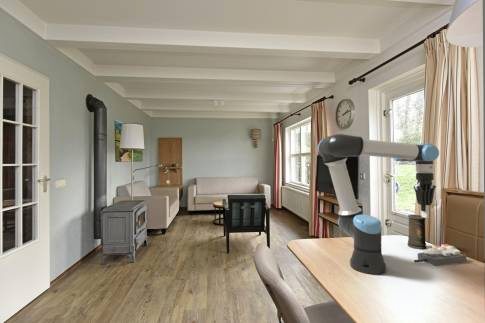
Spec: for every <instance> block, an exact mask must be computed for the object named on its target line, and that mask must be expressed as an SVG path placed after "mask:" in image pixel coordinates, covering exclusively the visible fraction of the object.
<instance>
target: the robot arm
mask: <svg viewBox="0 0 485 323" xmlns="http://www.w3.org/2000/svg"><path fill="white" fill-rule="evenodd" d="M317 152H318V154H319V156H320V157H322V160H323V164H324V165H326V166H327V167H328V170H329V174H330V177H331V181H332V185H333V188H334V191H335V195H336V196H335V197H336V199H337V202H338V206H339V210H338V212H337V214H338V219H337V223H338V227H339V228H340V230H341V231H342V232H343V233H344V234H345V235H347V236H349V237H350V238H352V239H353V251H352V252H351V257H350V259H349V266H350V268H352V269H353V270H355V271H357V272H361V273H364V274H369V275H383V274H385V273H386V272H387V266H386V263H385V260H384V256H383V253H382V230H383V228H382V222H381V221H380V219H379V218H377V217H376V216H372V215H368V214H364V213H363V211H362V208H361V207H359V206H358V205H357V204H358V203H357V201H356V200H357V199H356V197H355V194H354V193H355V192H354V190H353V186H352V182H351V179H350V178H351V177H350V175H349V171H348V169H347V164H346V161H347V160H348V157H353V158H354V157H356V158H359V157H360V156H368V157H376V158H386V159H387V158H388V159H393V160H394V161H395V162H415V172H416V173H415V180H416V181H417V183H416V185H413V189H414V192H415V196H416V202H417V204H418V205H420V212H421V216H422V217H424V218H426V219H429V218H430V217H429V215H430V214H429V211H430V206H432V204H433V202H434V195H435V189H436V188H437V186H436V185H434V184H433V182H432V181H433V180H434V179H435V178H434V176H435V174H434V173H433V172H434V161H436V160H437V158H439V155H440V150H439V148H438V147H437V146H436V145H434V144H433V143H431V142H422V143H421V142H420V143H419V142H418V143H416V144H415V143H405V142H394V141H386V140H385V141H383V140H378V139H377V140H376V139H366V138H365V139H364V138H363V137H362V136H358V135H352V134H343V133H335V134H333V135H328V136H326V137H324V138H322V139H321V140H320V141H319V143H318V145H317Z"/></svg>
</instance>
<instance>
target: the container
mask: <svg viewBox="0 0 485 323" xmlns="http://www.w3.org/2000/svg"><path fill="white" fill-rule="evenodd" d="M407 218H408V241H407V246H408V247H409V248H411V249H417V250H424V249H428V248H427V243H426V224H425V223H426V222H425V221H426V219H427V218H424V217H422V216H421V215H420V214H408V215H407Z"/></svg>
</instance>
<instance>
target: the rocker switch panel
mask: <svg viewBox="0 0 485 323" xmlns="http://www.w3.org/2000/svg"><path fill="white" fill-rule="evenodd" d="M413 262H414V263H423V262H424V263H425V264H429V265H432V266H435V267H438V266H444V265H446V266H447V265H452V264H459V263H460V264H461V263H465V262H466V263H467V255H466V254H462V253H460V254H457V255H454V254H452V253H451V255H449V256H444V255H443V254H437V255H429V254H428V253H424V252H417V259H414V260H413Z"/></svg>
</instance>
